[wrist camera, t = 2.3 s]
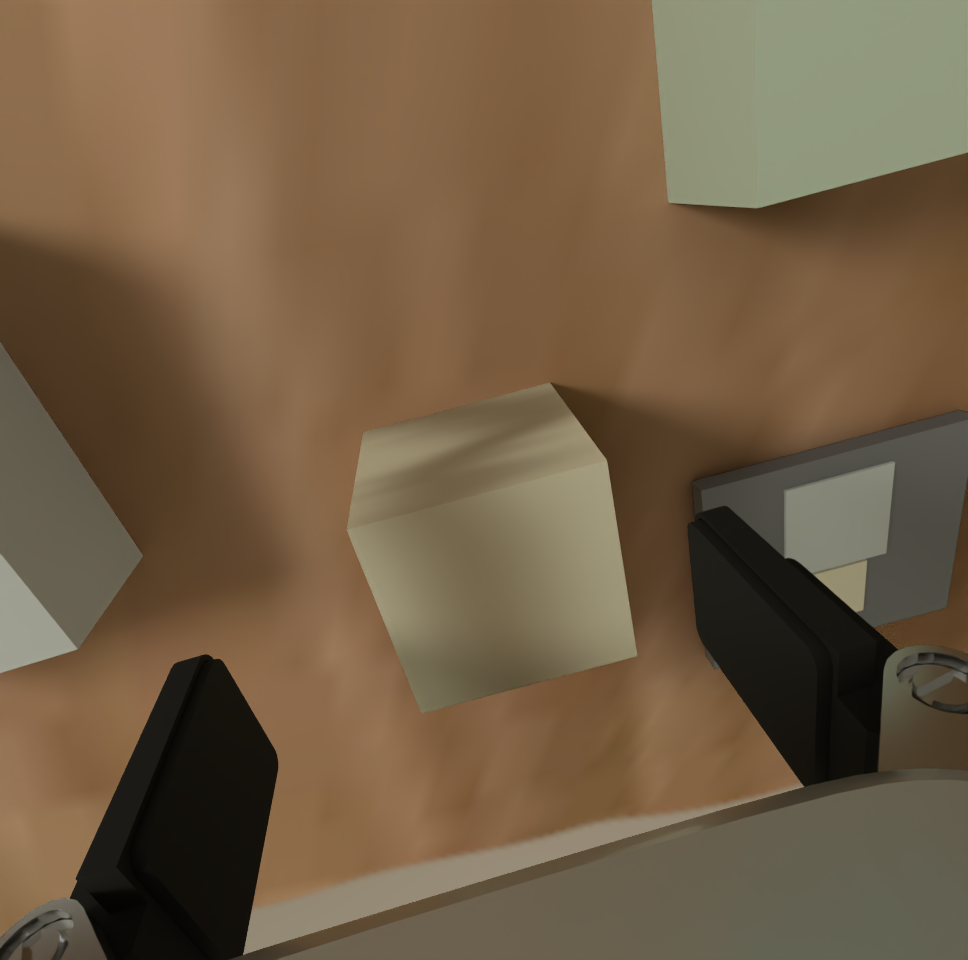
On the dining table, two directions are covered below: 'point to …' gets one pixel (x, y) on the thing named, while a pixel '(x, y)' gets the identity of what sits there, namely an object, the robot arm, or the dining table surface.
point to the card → (862, 513)
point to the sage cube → (806, 93)
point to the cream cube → (491, 547)
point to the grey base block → (50, 534)
